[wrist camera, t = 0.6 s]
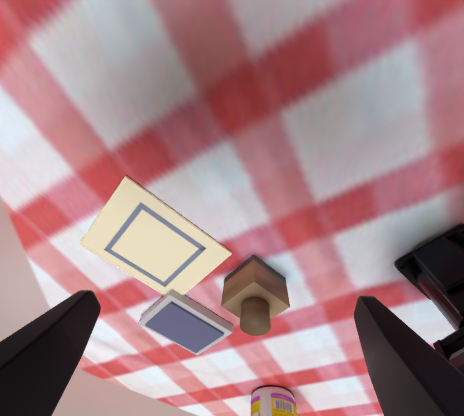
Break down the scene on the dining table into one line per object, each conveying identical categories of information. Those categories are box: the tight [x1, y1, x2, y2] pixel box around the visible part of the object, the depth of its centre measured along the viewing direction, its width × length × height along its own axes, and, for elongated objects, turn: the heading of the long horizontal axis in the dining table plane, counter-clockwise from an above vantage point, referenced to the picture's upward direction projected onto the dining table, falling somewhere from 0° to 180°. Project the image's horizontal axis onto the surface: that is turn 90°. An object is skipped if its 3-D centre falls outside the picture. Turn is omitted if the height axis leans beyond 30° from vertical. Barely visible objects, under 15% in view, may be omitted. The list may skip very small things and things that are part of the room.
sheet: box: [79, 176, 232, 296], centre depth 24 cm, size 12×10×1 cm
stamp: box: [221, 255, 290, 336], centre depth 23 cm, size 4×4×6 cm
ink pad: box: [138, 289, 233, 355], centre depth 29 cm, size 9×7×1 cm
